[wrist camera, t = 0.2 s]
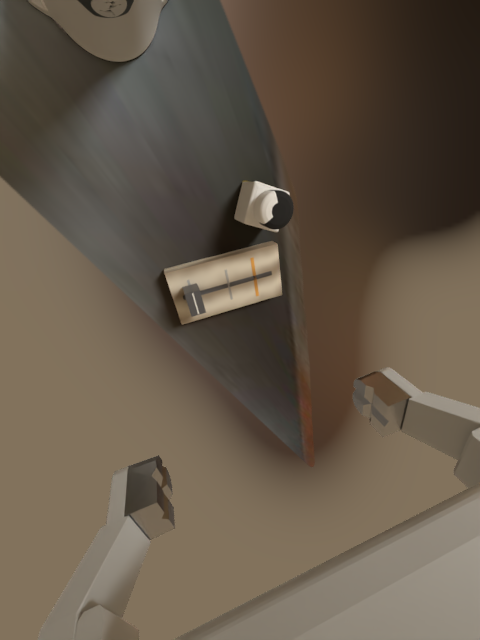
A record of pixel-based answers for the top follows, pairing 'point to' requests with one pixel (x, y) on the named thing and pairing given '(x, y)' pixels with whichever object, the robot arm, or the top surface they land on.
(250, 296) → the control strip
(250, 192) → the medicine bottle
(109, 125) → the top surface
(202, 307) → the fader knob
